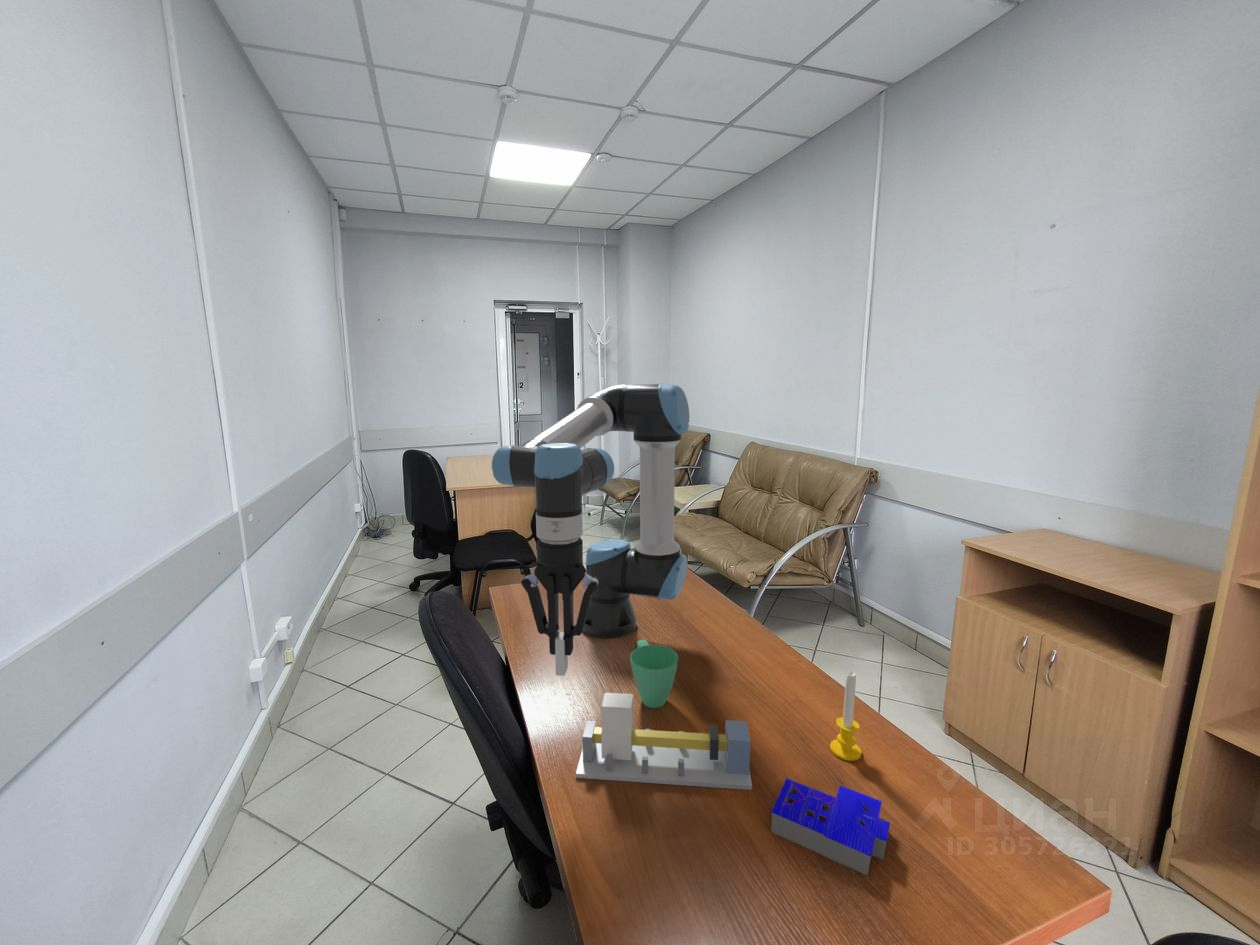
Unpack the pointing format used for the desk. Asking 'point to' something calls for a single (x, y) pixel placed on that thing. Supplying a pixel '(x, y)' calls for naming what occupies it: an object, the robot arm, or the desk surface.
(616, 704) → the sleeve
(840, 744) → the candle
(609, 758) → the comb rig
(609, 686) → the desk surface
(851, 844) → the house
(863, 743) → the desk surface
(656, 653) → the mug
